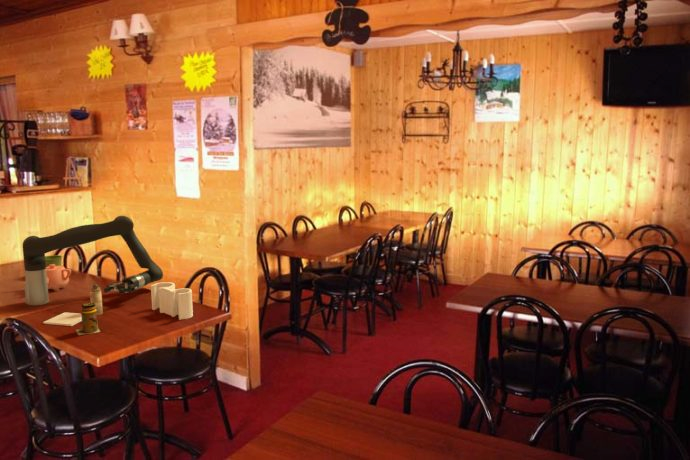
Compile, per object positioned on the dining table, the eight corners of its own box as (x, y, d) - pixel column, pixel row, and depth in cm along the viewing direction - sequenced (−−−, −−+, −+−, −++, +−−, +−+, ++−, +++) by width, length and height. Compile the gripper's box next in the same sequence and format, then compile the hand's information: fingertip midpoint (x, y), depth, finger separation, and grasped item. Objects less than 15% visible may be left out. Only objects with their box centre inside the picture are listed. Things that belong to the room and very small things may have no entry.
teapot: (43, 295, 294) (41, 269, 292) (31, 288, 305) (29, 264, 303) (75, 289, 306) (73, 264, 304) (62, 283, 317) (60, 259, 315)
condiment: (100, 332, 241) (98, 304, 239) (78, 335, 237) (76, 308, 235) (97, 327, 247) (95, 300, 245) (75, 330, 243) (73, 303, 241)
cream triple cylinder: (197, 315, 263) (196, 290, 261) (179, 320, 256) (178, 294, 254) (168, 304, 280) (167, 280, 278) (150, 309, 273) (149, 284, 271)
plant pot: (67, 273, 339) (66, 255, 337) (58, 278, 327) (56, 259, 325) (47, 273, 338) (46, 254, 336) (37, 278, 327) (35, 259, 325)
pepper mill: (89, 314, 263) (87, 285, 261) (95, 311, 268) (93, 282, 266) (98, 315, 262) (96, 285, 260) (104, 312, 267) (102, 283, 265)
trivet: (43, 323, 251) (43, 322, 250) (64, 313, 264) (64, 312, 264) (71, 326, 248) (71, 324, 248) (91, 316, 261) (91, 314, 261)
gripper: (121, 274, 291) (99, 282, 276) (145, 277, 287) (124, 285, 272) (122, 289, 292) (100, 297, 277) (145, 291, 288) (125, 300, 273)
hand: (112, 291), depth 275 cm, fingers open, 8 cm apart
